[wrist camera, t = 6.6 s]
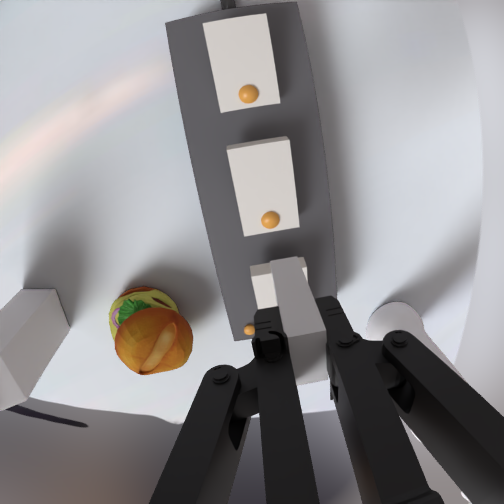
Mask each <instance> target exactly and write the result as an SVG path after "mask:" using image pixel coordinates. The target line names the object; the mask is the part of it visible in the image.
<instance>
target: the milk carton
mask: <svg viewBox="0 0 504 504" xmlns="http://www.w3.org/2000/svg"><path fill="white" fill-rule="evenodd" d="M69 331H70V327H69V325H68V322H67V319H66V317H65V314H64V312H63V309H62V306H61V303H60V301H59V298H58V295H57V292H56V290H55V289H21V290H20V291H19V292H18V293H17V294H16V295H15V296H14V297H13V298H12V299H11V300H10V301H9V302H8V303H7V304H6V305H5V306H4V307H3V308H2V309H1V310H0V411H2V410H4V409H7V408H9V407H12V406H14V405H17V404H19V403H21V402H24V401H26V400H27V399H28V397H29V395H30V394H31V392H32V390H33V389H34V387H35V385H36V383H37V382H38V380H39V378H40V377H41V375H42V373H43V372H44V370H45V368H46V367H47V365H48V364H49V362H50V360H51V359H52V357H53V356H54V354H55V352H56V351H57V349H58V348H59V346H60V345H61V343H62V342H63V340H64V339H65V337H66V336H67V334H68V333H69Z"/></svg>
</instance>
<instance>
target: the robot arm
mask: <svg viewBox="0 0 504 504" xmlns="http://www.w3.org/2000/svg"><path fill="white" fill-rule="evenodd" d="M270 265H271V272H272V278H273V284H274V290H275V296H276V302H277V306H275V307H269V308H263V309H258V310H257V311H256V313H255V315H254V328H255V336H254V337H253V338H252V347H253V352H254V356H255V358H254V359H253V360H252V361H251V362H250V363H249V364H247V365H245V366H243V367H241V368H238V369H236V368H234V367H233V366H230V365H218V366H215V367H213V368H211V369H210V370H208V371H207V372H206V374H205V375H204V377H203V380H202V382H201V384H200V387H199V389H198V391H197V394H196V396H195V398H194V401H193V403H192V405H191V408H190V410H189V412H188V414H187V417H186V419H185V421H184V424H183V426H182V429H181V431H180V433H179V436H178V438H177V440H176V442H175V445H174V447H173V449H172V451H171V454H170V456H169V458H168V461H167V463H166V465H165V468H164V470H163V472H162V475H161V477H160V479H159V481H158V484H157V486H156V488H155V491H154V493H153V495H152V497H151V500H150V502H149V504H227V503H228V500H229V496H230V493H231V489H232V486H233V482H234V479H235V475H236V472H237V468H238V464H239V461H240V457H241V454H242V450H243V446H244V442H245V439H246V435H247V431H248V427H249V424H250V420H251V416H252V415H255V414H257V413H259V415H260V427H261V441H262V454H263V465H264V478H265V491H266V503H267V504H320V503H319V498H318V492H317V487H316V482H315V476H314V471H313V466H312V461H311V456H310V450H309V446H308V440H307V436H306V430H305V425H304V420H303V415H302V410H301V405H300V400H299V395H298V390H297V386H298V385H303V384H308V383H313V382H318V381H323V380H328V375H329V378H330V400H333V399H334V403H335V406H336V409H337V412H338V416H339V419H340V423H341V427H342V430H343V433H344V437H345V441H346V444H347V448H348V451H349V455H350V459H351V462H352V466H353V469H354V473H355V477H356V480H357V484H358V488H359V492H360V495H361V500H362V504H444V501H443V499H442V498H441V496H440V495H439V493H437V492H436V491H433V490H431V489H430V488H429V486H428V484H427V481H426V479H425V476H424V473H423V471H422V469H421V466H420V464H419V461H418V459H417V456H416V454H415V452H414V449H413V447H412V444H411V442H410V440H409V437H408V435H407V433H406V430H405V428H404V426H403V424H402V421H401V419H400V417H401V418H402V419H403V421H404V422H405V423H406V424H407V425H408V427H409V428H410V429H411V430H412V431H413V433H414V434H415V435H416V436H417V437H418V439H419V440H420V441H421V442H422V443H423V445H424V446H425V447H426V448H427V450H428V451H429V452H430V453H431V454H432V456H433V457H434V458H435V459H436V460H437V462H438V463H439V464H440V465H441V466H442V468H443V469H444V470H445V471H446V473H447V474H448V475H449V476H450V477H451V479H452V480H453V481H454V482H455V483H456V485H457V486H458V487H459V488H460V489H461V491H462V492H463V493H464V494H465V496H466V497H467V498H468V499H469V501H470V502H471V503H472V504H504V417H503V416H502V415H501V414H500V413H499V412H498V411H497V410H496V409H495V408H494V407H492V406H491V405H490V404H489V403H488V402H487V401H486V400H485V399H484V398H483V397H481V395H480V394H478V393H477V392H476V391H475V390H474V389H473V388H472V387H471V386H470V385H469V384H468V383H467V382H465V381H464V380H463V379H462V378H461V377H460V376H459V375H458V374H457V373H456V372H454V371H453V370H452V369H451V368H450V367H449V366H448V365H447V364H446V363H444V362H443V361H442V360H441V359H440V358H439V357H438V356H437V355H435V354H434V353H433V352H432V351H431V350H430V349H429V348H427V347H426V346H425V345H424V344H423V343H422V342H421V341H419V340H418V339H417V338H416V337H415V336H414V335H412V334H411V333H409V332H408V331H404V330H394V331H391V332H389V333H387V334H386V335H385V336H384V338H383V340H381V341H372V340H365V339H362V337H361V336H360V335H359V334H358V333H356V332H354V331H353V329H352V327H351V325H350V323H349V321H348V319H347V317H346V315H345V313H344V311H343V309H342V307H341V305H340V303H339V301H338V300H337V299H336V298H334V297H333V296H331V295H330V296H325V297H320V298H315V299H314V297H313V295H312V292H311V290H310V287H309V285H308V282H307V280H306V277H305V275H304V272H303V270H302V267H301V265H300V262H299V260H298V257H297V256H295V257H290V258H284V259H278V260H273V261H270ZM399 416H400V417H399Z"/></svg>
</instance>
